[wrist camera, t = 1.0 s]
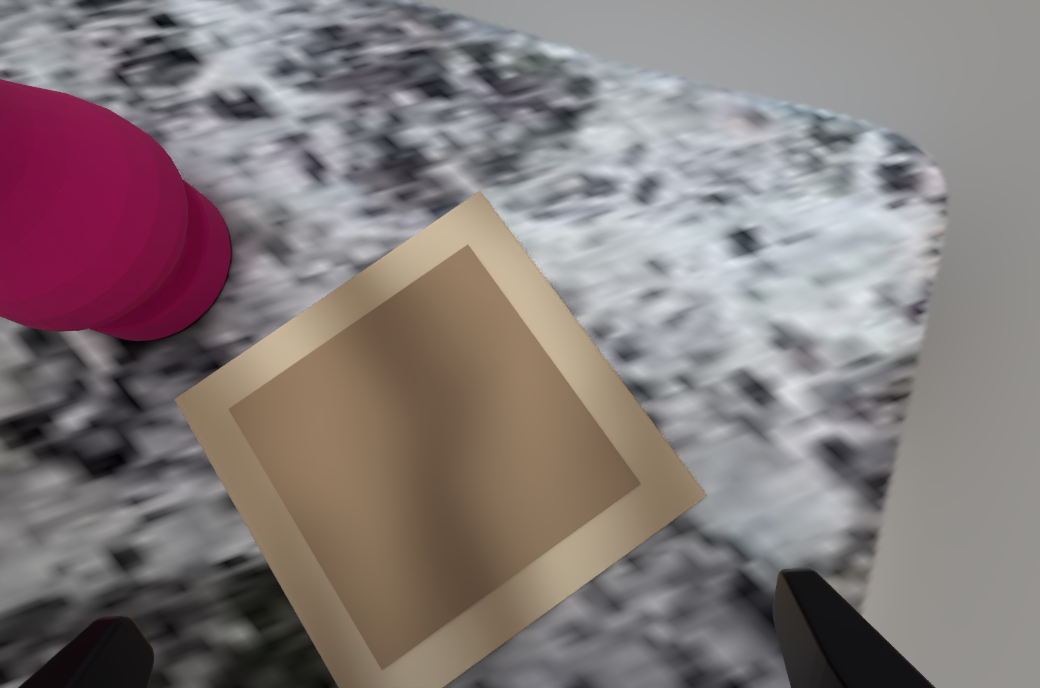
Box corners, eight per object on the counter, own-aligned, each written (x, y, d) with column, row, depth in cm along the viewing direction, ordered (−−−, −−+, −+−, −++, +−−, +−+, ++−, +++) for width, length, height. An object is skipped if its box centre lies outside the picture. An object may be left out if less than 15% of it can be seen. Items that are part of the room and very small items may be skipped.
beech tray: (376, 731, 21) (366, 743, 20) (187, 402, 24) (171, 398, 23) (702, 495, 22) (708, 495, 21) (482, 199, 25) (479, 188, 24)
